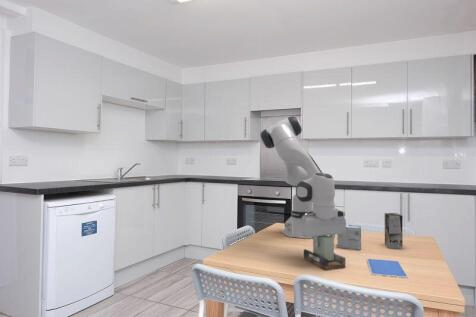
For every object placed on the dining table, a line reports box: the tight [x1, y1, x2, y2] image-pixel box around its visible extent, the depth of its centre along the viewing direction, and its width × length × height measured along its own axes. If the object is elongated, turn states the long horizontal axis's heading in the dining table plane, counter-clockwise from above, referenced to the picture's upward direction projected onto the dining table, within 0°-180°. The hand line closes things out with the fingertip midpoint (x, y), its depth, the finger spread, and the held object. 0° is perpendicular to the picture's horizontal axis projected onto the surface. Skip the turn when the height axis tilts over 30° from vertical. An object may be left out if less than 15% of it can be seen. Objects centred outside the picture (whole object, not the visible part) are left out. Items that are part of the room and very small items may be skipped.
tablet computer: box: [366, 258, 409, 279], centre depth 127 cm, size 19×13×1 cm, turn 163°
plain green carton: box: [312, 235, 335, 261], centre depth 134 cm, size 5×8×9 cm, turn 21°
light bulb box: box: [336, 224, 362, 251], centre depth 159 cm, size 11×7×11 cm, turn 65°
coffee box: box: [384, 212, 404, 250], centre depth 161 cm, size 9×6×16 cm
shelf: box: [303, 248, 346, 271], centre depth 134 cm, size 16×9×4 cm, turn 20°
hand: (323, 245), depth 134 cm, fingers open, 5 cm apart
